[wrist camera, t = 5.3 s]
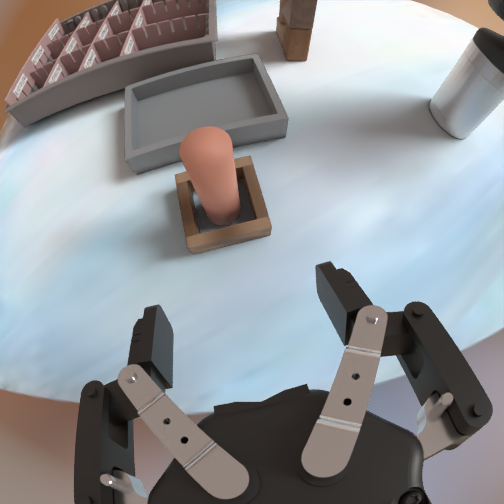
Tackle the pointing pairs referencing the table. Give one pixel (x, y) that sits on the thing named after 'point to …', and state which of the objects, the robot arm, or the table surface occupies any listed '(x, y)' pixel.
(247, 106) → the tray
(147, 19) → the organizer tray
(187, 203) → the dowel collar
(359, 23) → the table surface
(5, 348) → the table surface
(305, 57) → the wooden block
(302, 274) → the table surface
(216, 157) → the dowel
